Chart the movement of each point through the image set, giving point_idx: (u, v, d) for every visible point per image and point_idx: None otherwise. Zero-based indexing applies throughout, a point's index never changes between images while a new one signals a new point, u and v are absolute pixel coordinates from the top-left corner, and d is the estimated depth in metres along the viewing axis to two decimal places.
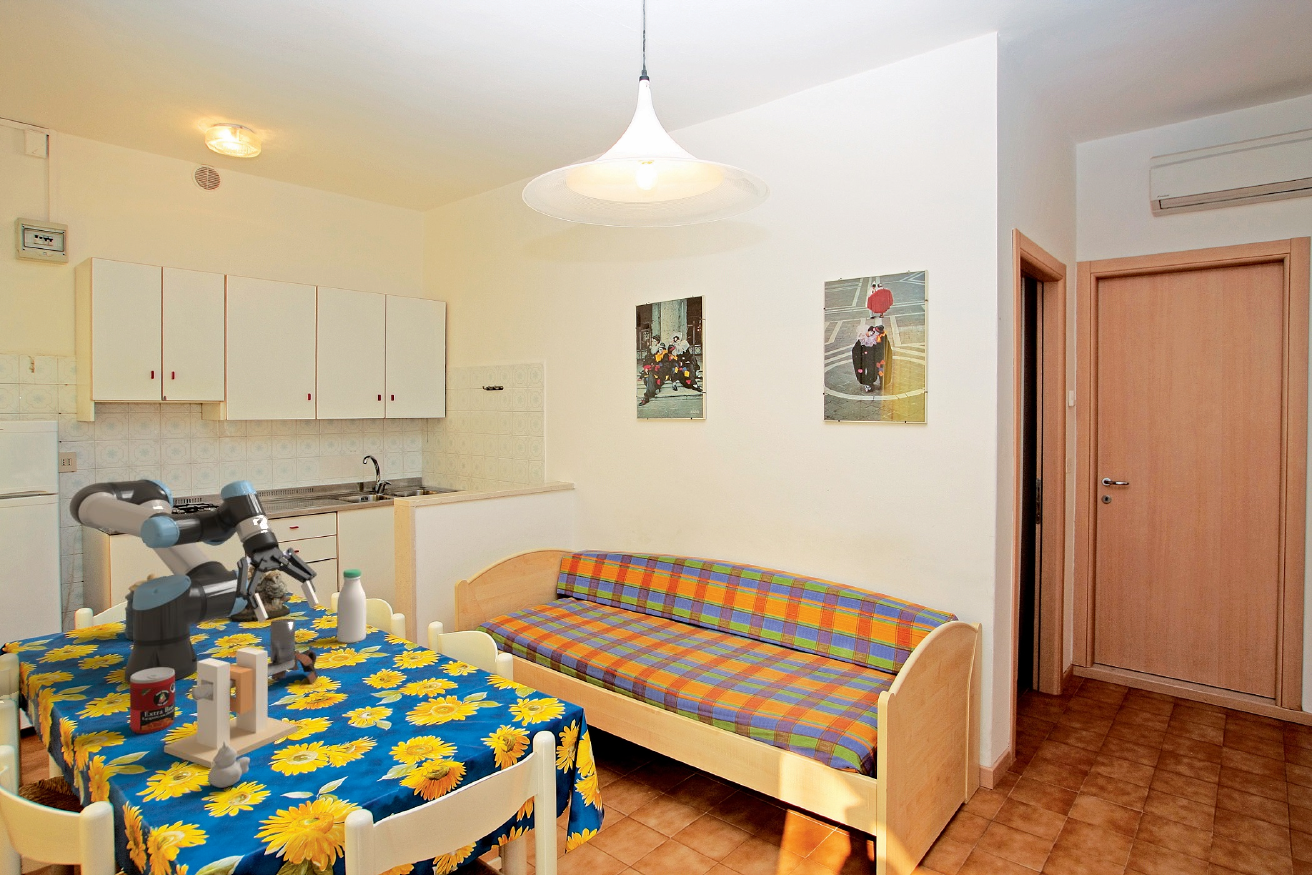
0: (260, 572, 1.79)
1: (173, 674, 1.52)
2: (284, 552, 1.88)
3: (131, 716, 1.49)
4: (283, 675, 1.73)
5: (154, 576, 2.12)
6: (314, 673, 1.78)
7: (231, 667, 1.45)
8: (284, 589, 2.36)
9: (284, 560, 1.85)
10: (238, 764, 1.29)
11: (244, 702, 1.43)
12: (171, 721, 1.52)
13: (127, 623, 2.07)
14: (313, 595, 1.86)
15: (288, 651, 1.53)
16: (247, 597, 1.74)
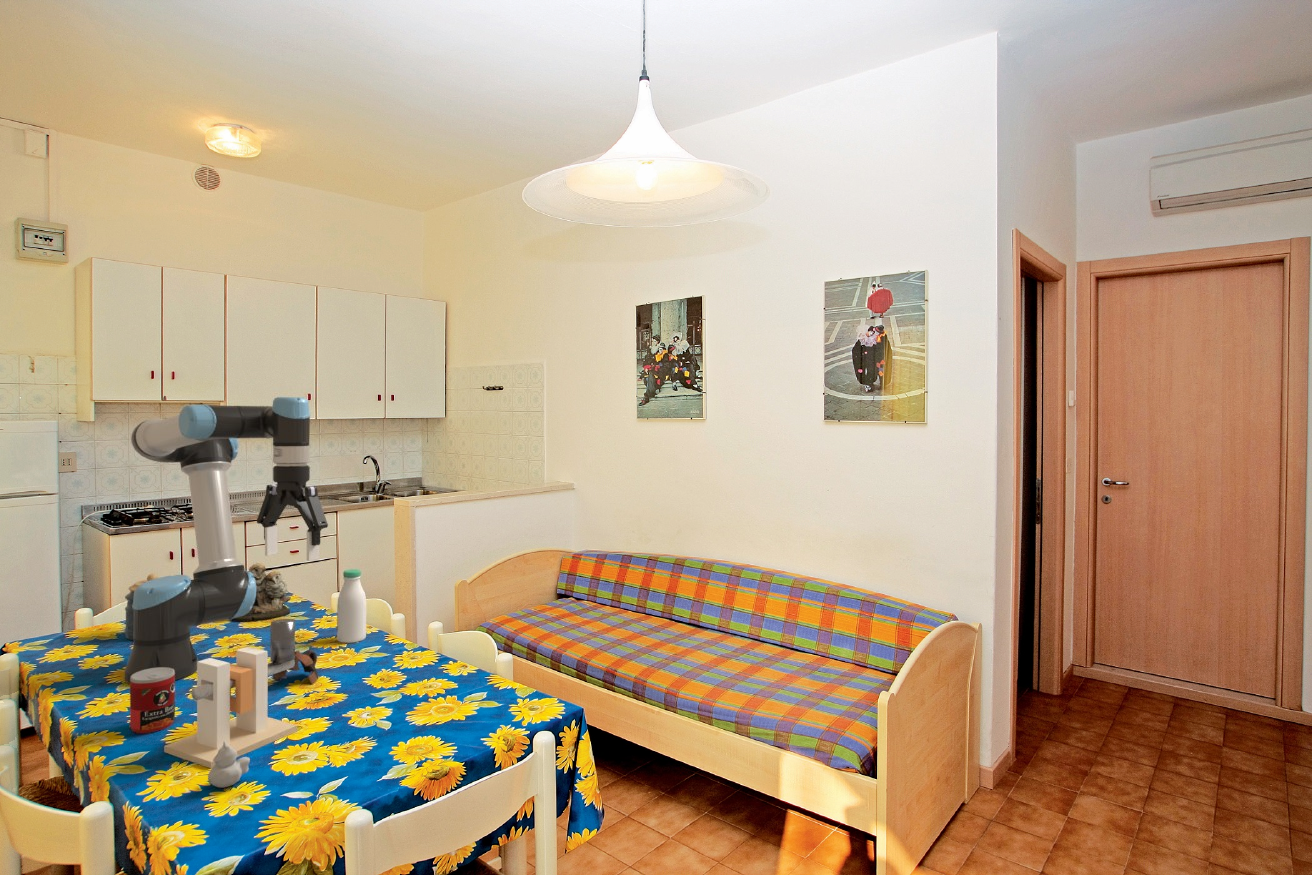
0: (275, 507, 1.69)
1: (173, 674, 1.52)
2: (304, 489, 1.66)
3: (131, 716, 1.49)
4: (284, 675, 1.73)
5: (154, 576, 2.12)
6: (315, 673, 1.78)
7: (231, 667, 1.45)
8: (284, 589, 2.36)
9: (294, 501, 1.65)
10: (238, 764, 1.29)
11: (244, 702, 1.43)
12: (171, 721, 1.52)
13: (127, 623, 2.07)
14: (307, 550, 1.64)
15: (288, 651, 1.53)
16: None
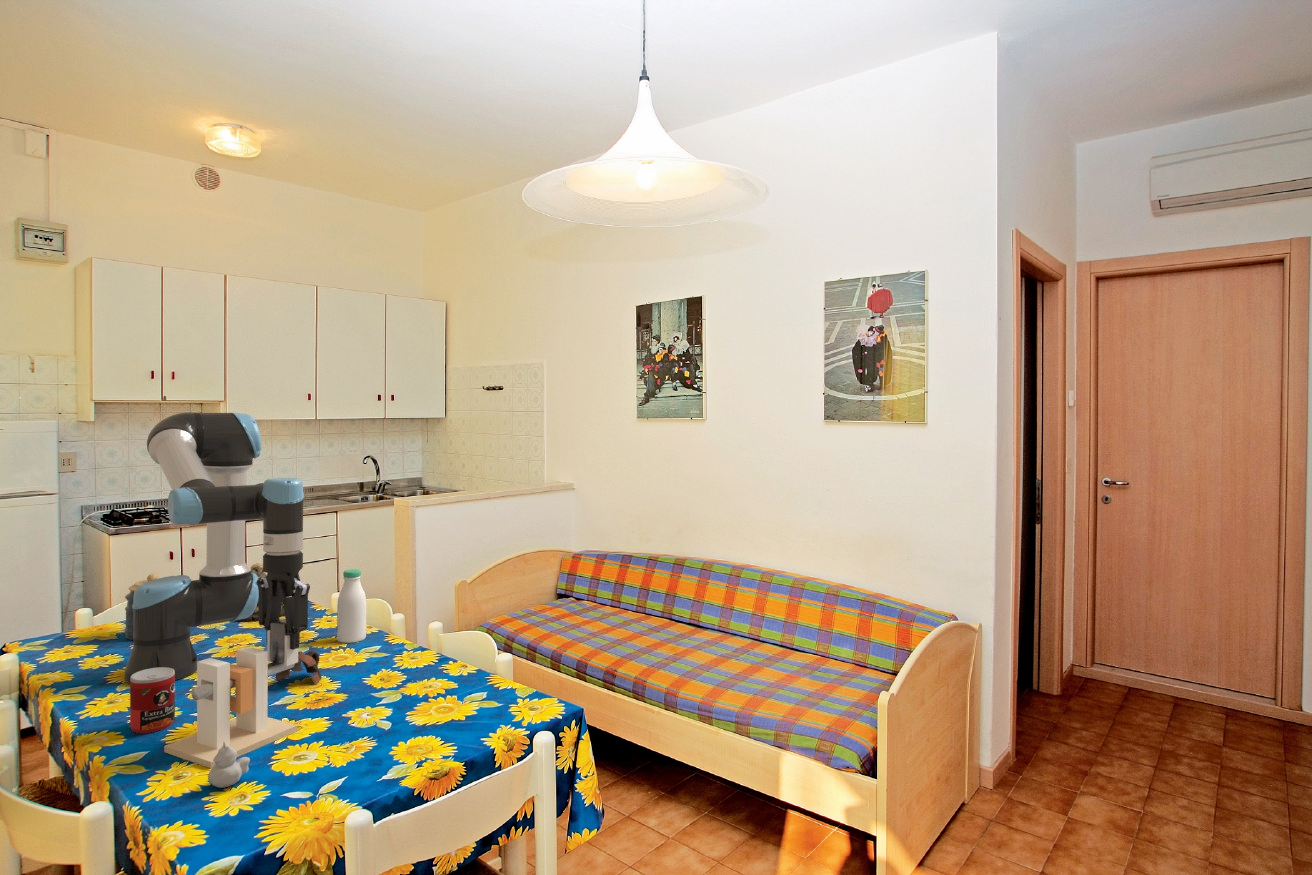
0: (271, 601, 1.54)
1: (173, 674, 1.52)
2: (296, 584, 1.52)
3: (131, 716, 1.49)
4: (287, 676, 1.73)
5: (154, 576, 2.12)
6: (318, 674, 1.78)
7: (231, 667, 1.45)
8: None
9: (282, 596, 1.52)
10: (238, 764, 1.29)
11: (244, 702, 1.43)
12: (171, 721, 1.52)
13: (127, 623, 2.07)
14: (285, 654, 1.53)
15: None
16: None
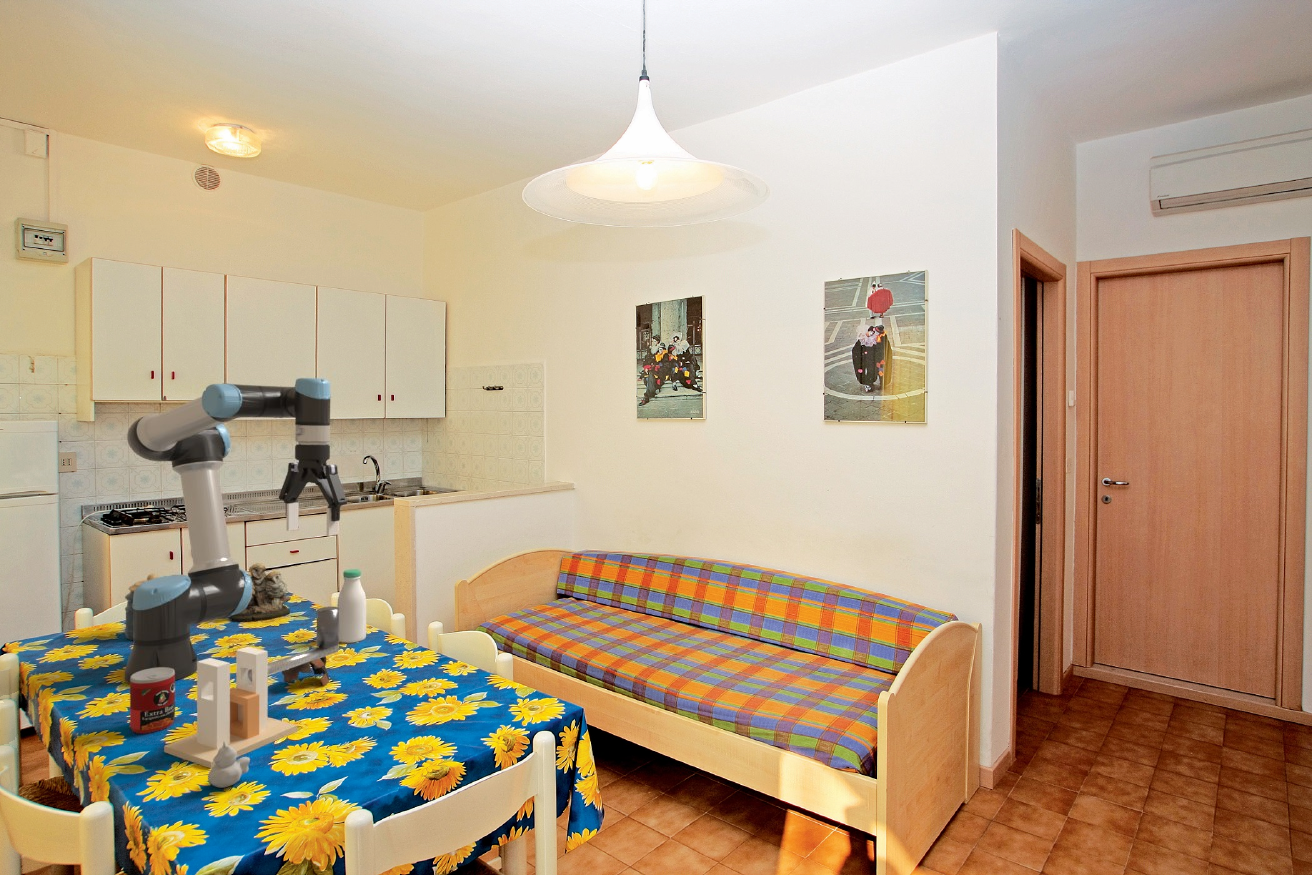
0: (297, 484, 1.75)
1: (173, 674, 1.52)
2: None
3: (131, 716, 1.49)
4: (296, 678, 1.72)
5: (154, 576, 2.12)
6: (326, 675, 1.77)
7: (238, 693, 1.46)
8: (284, 589, 2.36)
9: (315, 479, 1.72)
10: (238, 764, 1.29)
11: (251, 727, 1.44)
12: (171, 721, 1.52)
13: (127, 623, 2.07)
14: (327, 525, 1.71)
15: (333, 637, 1.64)
16: None
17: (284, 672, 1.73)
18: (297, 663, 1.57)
